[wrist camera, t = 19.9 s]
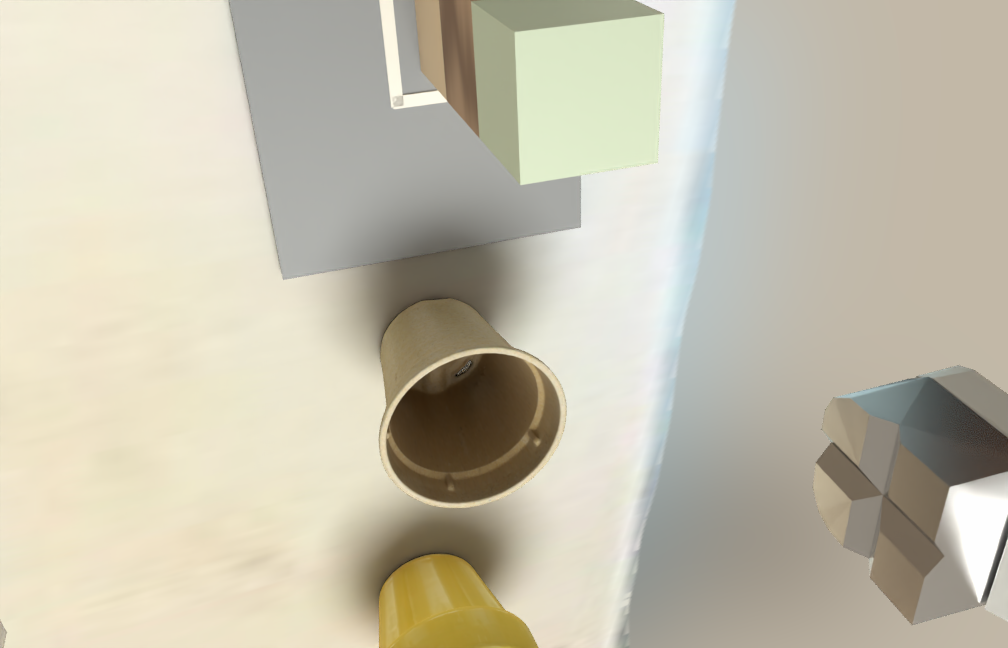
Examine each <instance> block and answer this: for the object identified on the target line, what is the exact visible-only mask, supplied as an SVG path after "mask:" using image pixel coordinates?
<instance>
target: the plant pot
mask: <svg viewBox="0 0 1008 648" xmlns="http://www.w3.org/2000/svg"><path fill="white" fill-rule="evenodd" d="M379 648H538V646H537V644H536V642H535V640H534V638H533V636H532V634H531V632H530V630H529V628H528V627H527V626H526V624H525V623H524V622H523V621H522V620H521V619H520V618H518V617H517V616H515V615H514V614H512V613H510V612H508V611H506V610H505V609H504V608H503V607H502V605H501V604H500V603H499V601H498V600H497V599H496V598H495V596H494V595H493V594H492V592H491V591H490V590H489V589H488V587H487V586H486V585H485V583H484V582H483V581H482V579H481V578H480V577H479V575H478V574H477V573H476V571H475V570H474V569H473V567H472V566H471V565H470V564H469V563H467V562H466V561H465V560H463V559H461V558H459V557H457V556H453V555H449V554H430V555H425V556H421V557H418V558H416V559H413V560H411V561H409V562H407V563H405V564H404V565H402V566H401V567H399V568H398V569H397V570H395V571H394V572H393V573H392V574H391V575H390V576H389V578H388V579H387V580H386V582H385V583H384V585H383V587H382V589H381V592H380V597H379Z"/></svg>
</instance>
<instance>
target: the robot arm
mask: <svg viewBox="0 0 1008 648" xmlns="http://www.w3.org/2000/svg"><path fill="white" fill-rule="evenodd" d="M821 430H822V431H823V432H824V434H825V435H826V436H827V437H828V439H829V440H830V442H831V443H830V445H829V446H828V447H827V449H826V450H825V451H824V452H823V454H822V455H821V456H820V458H819V459H818V460H817V462H816V464H815V472H814V481H813V490H814V494H815V498H816V503H817V507H818V511H819V513H820V515H821V517H822V519H823V521H824V523H825V524H826V526H827V528H828V530H829V531H830V532H831V533H832V535H833V536H834V537H835V538H836V539H837V540H838V542H839V543H840V544H841V545H842V546H843V547H844V548H847V549H849V550H851V551H853V552H856V553H858V554H860V555H863V556H865V557H867V558H869V574H870V578H871V580H872V581H873V582H874V583H875V584H876V585H877V586H878V588H879V589H880V590H881V591H882V592H883V593H884V594H885V595H886V596H887V598H888V599H889V600H890V601H891V602H892V603H893V604H894V605H895V607H896V608H897V609H898V610H899V611H900V612H901V613H902V614H903V616H904V617H905V618H906V619H907V620H908V621H909V622H910V623H911V625H915V624H918V623H922V622H925V621H929V620H932V619H936V618H939V617H943V616H947V615H950V614H954V613H957V612H960V611H965V610H968V609H971V608H975V607H978V606H982V605H986V606H985V610H987V611H989V612H991V613H993V614H994V615H996V616H998V617H1000V618H1002V619H1004V620H1006V621H1007V622H1008V394H1007V393H1006V392H1004V391H1003V390H1001V389H1000V388H999V387H997V386H996V385H995V384H993V383H992V382H990V381H989V380H988V379H986V378H985V377H983V376H982V375H980V374H979V373H978V372H976V371H975V370H973V369H969V368H966V367H962V366H959V365H957V366H954V367H950V368H946V369H942V370H939V371H934V372H931V373H927V374H923V375H919V376H917V377H915V378H911V379H906V380H902V381H898V382H894V383H890V384H886V385H882V386H878V387H874V388H870V389H866V390H862V391H858V392H854V393H850V394H846V395H842V396H838V397H834V398H833V399H832V400H831V402H830V403H829V405H828V406H827V408H826V409H825V413H824V418H823V423H822V429H821ZM6 633H7V632H6V630H5V628H4V627H3V625H2V623H1V621H0V648H4V643H5V638H6Z"/></svg>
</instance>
